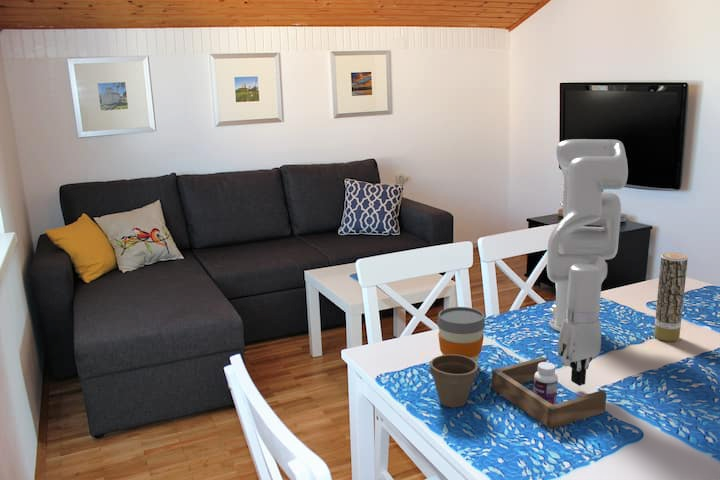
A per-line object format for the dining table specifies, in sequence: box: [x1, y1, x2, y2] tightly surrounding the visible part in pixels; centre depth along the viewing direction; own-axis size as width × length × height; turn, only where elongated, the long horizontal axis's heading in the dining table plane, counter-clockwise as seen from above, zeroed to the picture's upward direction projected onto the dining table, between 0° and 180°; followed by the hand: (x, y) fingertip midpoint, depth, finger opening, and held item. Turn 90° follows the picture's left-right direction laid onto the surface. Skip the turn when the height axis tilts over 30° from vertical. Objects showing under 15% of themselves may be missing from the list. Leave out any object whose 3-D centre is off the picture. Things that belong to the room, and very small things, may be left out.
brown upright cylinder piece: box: [653, 252, 689, 343], centre depth 190 cm, size 7×7×25 cm
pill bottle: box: [532, 361, 559, 405], centre depth 158 cm, size 5×5×10 cm
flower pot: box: [429, 354, 479, 408], centre depth 159 cm, size 12×11×10 cm
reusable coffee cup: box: [436, 306, 486, 365], centre depth 177 cm, size 13×12×15 cm
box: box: [491, 356, 608, 430], centre depth 159 cm, size 22×16×5 cm
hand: (578, 382), depth 164 cm, fingers closed
